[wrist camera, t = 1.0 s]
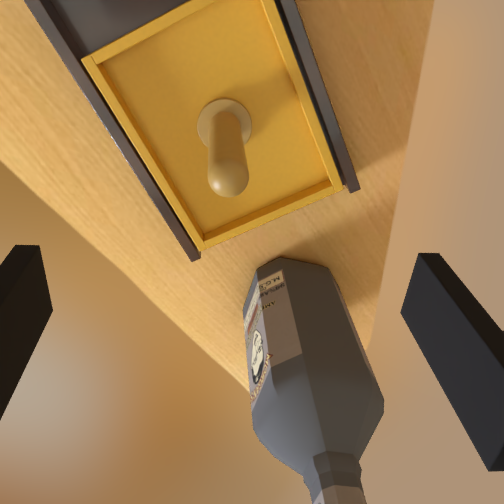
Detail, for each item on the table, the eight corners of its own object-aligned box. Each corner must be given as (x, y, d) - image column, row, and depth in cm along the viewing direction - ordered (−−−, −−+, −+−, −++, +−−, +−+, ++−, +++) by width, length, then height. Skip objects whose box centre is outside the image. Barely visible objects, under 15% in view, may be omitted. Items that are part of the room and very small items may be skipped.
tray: (87, 54, 34) (26, 93, 23) (257, -37, 32) (280, -43, 20) (200, 239, 43) (195, 331, 32) (337, 178, 41) (384, 255, 30)
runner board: (-24, -102, 30) (-48, -110, 27) (202, -245, 27) (200, -270, 24) (192, 245, 45) (191, 262, 42) (351, 175, 42) (361, 189, 39)
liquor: (343, 266, 48) (492, 602, 22) (313, 330, 52) (409, 671, 27) (260, 249, 46) (320, 594, 20) (237, 317, 50) (262, 670, 25)
